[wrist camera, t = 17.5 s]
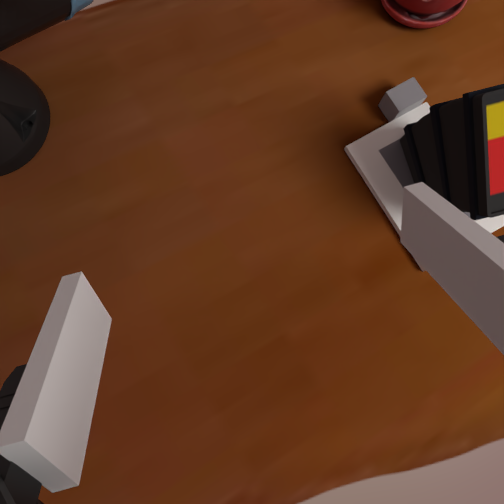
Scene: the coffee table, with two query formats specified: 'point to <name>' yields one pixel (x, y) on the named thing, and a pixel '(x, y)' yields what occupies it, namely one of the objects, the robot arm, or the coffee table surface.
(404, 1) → the plant pot
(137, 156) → the coffee table surface
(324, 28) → the coffee table surface
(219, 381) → the coffee table surface
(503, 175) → the magazine
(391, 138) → the charging pad
